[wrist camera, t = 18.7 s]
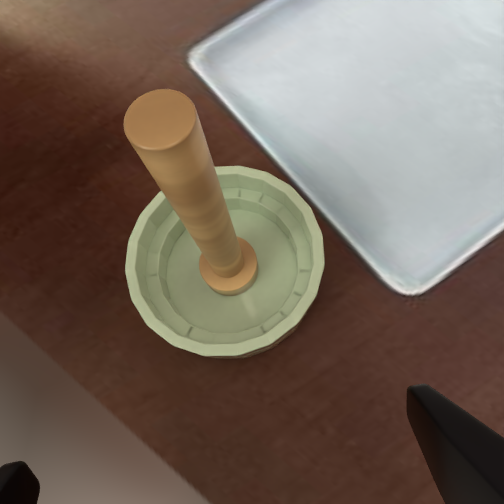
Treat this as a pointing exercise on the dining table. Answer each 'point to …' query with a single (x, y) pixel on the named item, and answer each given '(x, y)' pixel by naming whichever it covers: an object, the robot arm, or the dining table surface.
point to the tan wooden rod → (191, 185)
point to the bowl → (208, 301)
